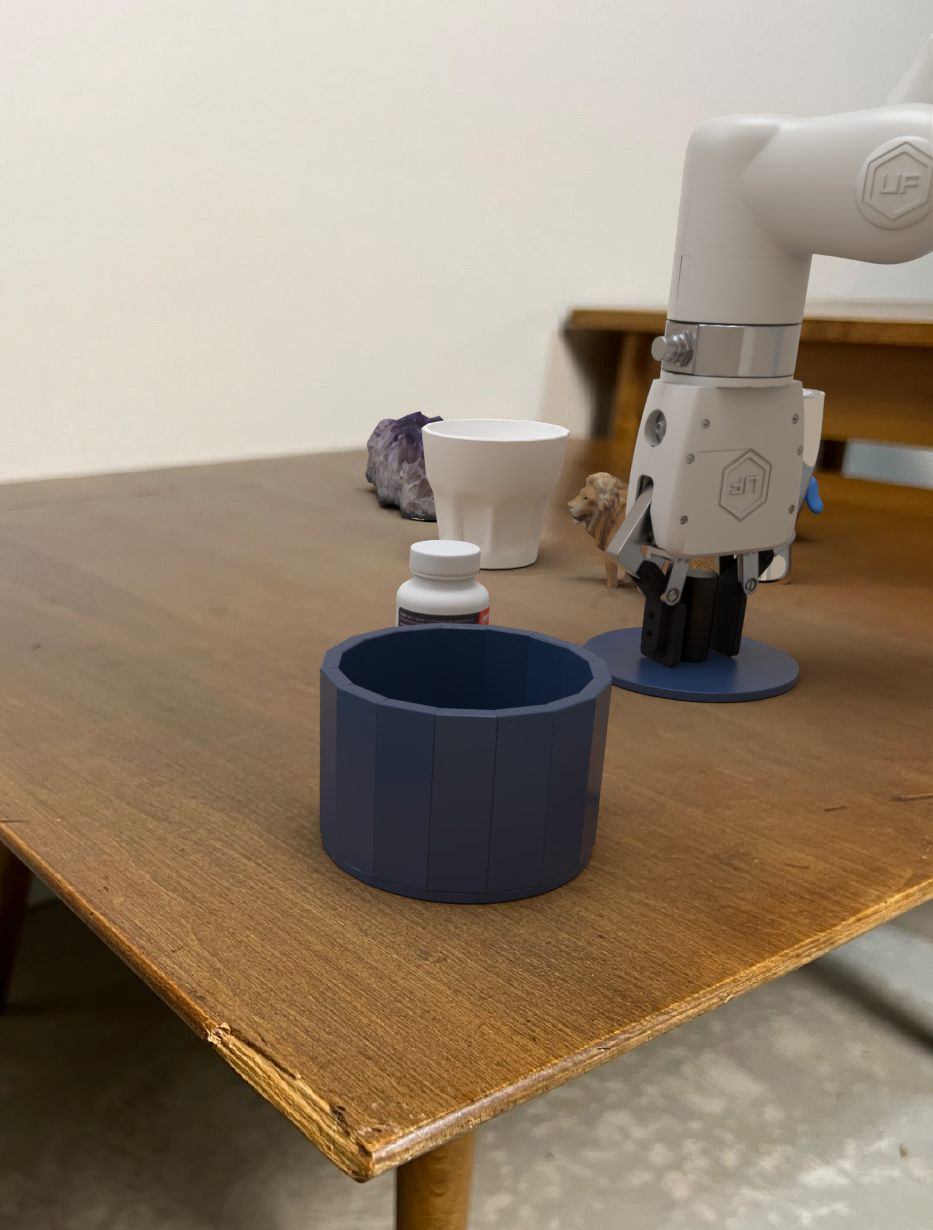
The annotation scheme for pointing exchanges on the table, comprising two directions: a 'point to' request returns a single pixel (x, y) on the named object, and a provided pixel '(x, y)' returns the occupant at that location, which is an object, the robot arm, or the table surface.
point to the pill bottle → (443, 585)
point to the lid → (697, 657)
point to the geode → (401, 465)
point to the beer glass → (813, 415)
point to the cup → (494, 483)
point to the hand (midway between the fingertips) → (689, 652)
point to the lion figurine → (604, 517)
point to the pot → (461, 760)
